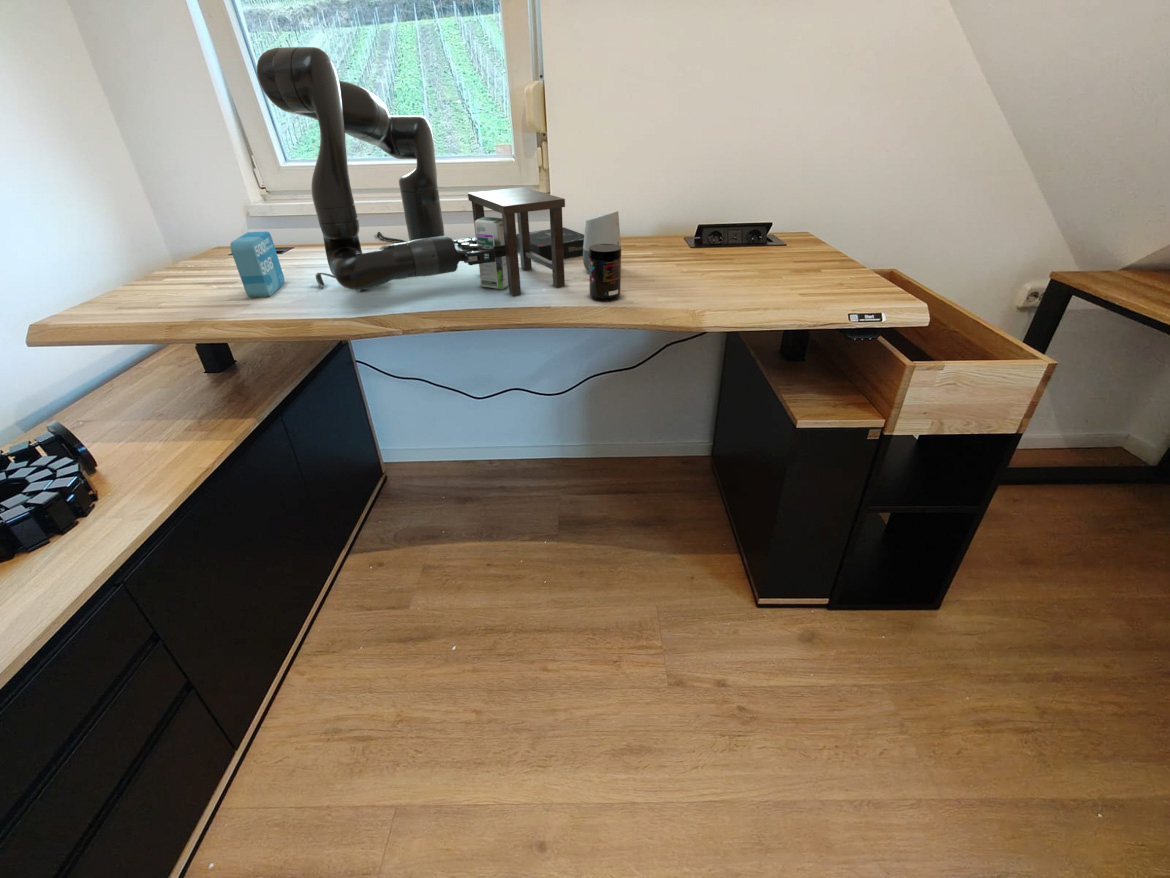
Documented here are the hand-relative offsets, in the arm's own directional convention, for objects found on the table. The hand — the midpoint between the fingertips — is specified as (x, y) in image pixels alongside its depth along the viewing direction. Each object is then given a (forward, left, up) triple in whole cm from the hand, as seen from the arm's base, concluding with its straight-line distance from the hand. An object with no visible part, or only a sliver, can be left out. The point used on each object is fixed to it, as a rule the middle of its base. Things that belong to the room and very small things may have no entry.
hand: (501, 245), depth 124 cm
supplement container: (+21, +14, -9) cm, 27 cm away
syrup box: (0, -2, -9) cm, 9 cm away
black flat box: (-20, +23, -9) cm, 32 cm away
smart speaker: (+4, +24, -9) cm, 26 cm away
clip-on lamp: (-19, -30, -9) cm, 37 cm away
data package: (-26, -48, -9) cm, 55 cm away
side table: (0, +4, -8) cm, 9 cm away
